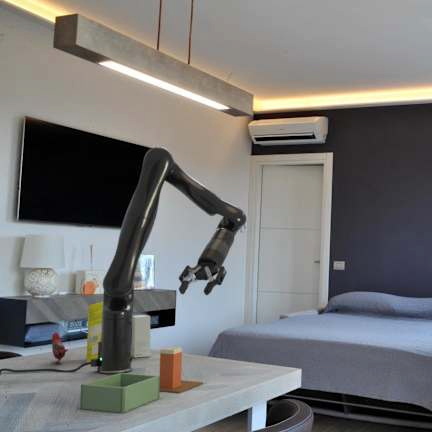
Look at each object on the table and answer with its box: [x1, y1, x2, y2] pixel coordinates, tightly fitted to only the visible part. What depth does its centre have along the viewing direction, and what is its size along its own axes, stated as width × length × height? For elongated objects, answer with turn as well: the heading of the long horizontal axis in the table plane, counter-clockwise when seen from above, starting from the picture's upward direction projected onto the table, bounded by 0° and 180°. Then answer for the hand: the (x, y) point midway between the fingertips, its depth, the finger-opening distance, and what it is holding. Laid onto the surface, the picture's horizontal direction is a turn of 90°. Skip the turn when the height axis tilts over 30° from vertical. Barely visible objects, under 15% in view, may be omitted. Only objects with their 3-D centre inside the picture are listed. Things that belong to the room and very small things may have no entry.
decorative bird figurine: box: [51, 332, 69, 365], centre depth 203 cm, size 3×18×10 cm, turn 43°
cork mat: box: [159, 379, 204, 394], centre depth 174 cm, size 12×12×1 cm
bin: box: [79, 372, 161, 414], centre depth 155 cm, size 13×15×6 cm
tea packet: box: [159, 346, 183, 389], centre depth 172 cm, size 5×4×11 cm
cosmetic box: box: [131, 314, 151, 358], centre depth 220 cm, size 8×6×15 cm
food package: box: [85, 301, 103, 363], centre depth 212 cm, size 15×1×20 cm, turn 5°
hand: (193, 292), depth 183 cm, fingers open, 8 cm apart
